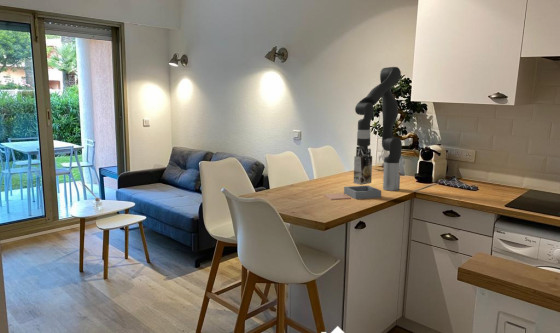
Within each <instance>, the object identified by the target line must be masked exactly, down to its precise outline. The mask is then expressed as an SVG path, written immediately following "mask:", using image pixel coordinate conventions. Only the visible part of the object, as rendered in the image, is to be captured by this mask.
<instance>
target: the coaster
mask: <svg viewBox="0 0 560 333" xmlns="http://www.w3.org/2000/svg"><path fill="white" fill-rule="evenodd" d="M322 196H324V197H326V198H327V199H329V200H330V201H332V200H334V201H335V200H336V201H337V200H346V199H347V200H348V199H350V200H351V198H352V197H350V196H348V195H346V194H344V192H340V193H338V192H337V193H323V195H322Z"/></svg>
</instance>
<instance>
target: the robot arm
mask: <svg viewBox="0 0 560 333" xmlns="http://www.w3.org/2000/svg"><path fill="white" fill-rule="evenodd" d="M401 75H402V71H401V70H400V68H399V67H398V66H390V67H383V68H382V69H381V70H380V74H379V78H380V79H379V81H380V83H379V84H377V85H376V86H374V87H373V88H372V89H371V90H370V91H369V92H368V94H367V95H366V96H365V97H364V98H362V99H361V100H360V101H358V102H357V103H356V105H355V108H354V110H355V114H356V115H359V116H363V118H360V119H359V120H358V122H357V133H356V145H357V146H356V149H355V152H356V153H355V154H356V155H355V156H363V157H364V159H365V161H364V166H368V162H369V159H371V156H372V152H371V151H372V150H371V148H369V147H370V146H371V121H372V118H373V114H374V111H375V109H374V106H375V105H377V104H378V102H379V100H380V99H381V100H382V104H381V105H382V106H381V108H382V110H381V111H382V136H381V137H382V138H381V146H382V149H383V150H384V151H386V152H388V155H387V156H385V157H384V159H383V176H382V180H383V181H382V182H383V183H382V184H383V185H382V190H385V191H393V192H394V191H399V190H400V187H401V186H400V185H401V174H399V173H400V159H401V156H402V150H403V149H402V148H403V147H402V146H403V145H402V140H401V137H398V136H393V127H394V125H395V122H396V121H397V119H398V117H399V116H398V115H399V105H398V102H397V100H396V98H395V97H394V95H393V92H392V90H391V88H392V87H393V86H394V85H395V84H397V83H398V82H399V80H400V79H401V78H402V77H401Z"/></svg>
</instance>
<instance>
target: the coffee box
mask: <svg viewBox="0 0 560 333" xmlns="http://www.w3.org/2000/svg"><path fill="white" fill-rule="evenodd" d="M353 160H354V161H353V162H354V163H353V184H357V185H359V186H364V185H368V184H371V183H372V178H373V177H372V176H373V172H372V170H373V156H372V155H371V159H369V162H368V166H364V161H365V159H364V157H363V156H356V155H354V158H353Z"/></svg>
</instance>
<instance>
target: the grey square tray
mask: <svg viewBox="0 0 560 333" xmlns="http://www.w3.org/2000/svg"><path fill="white" fill-rule="evenodd" d="M343 194H345V195H347V196H349V197H351V198H353V199H354V200H361V199H363V200H364V199H378V198H382V190H381V189H379V188H376V187H374V186H371V185H368V184H366V185H354V186H344V187H343Z"/></svg>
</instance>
